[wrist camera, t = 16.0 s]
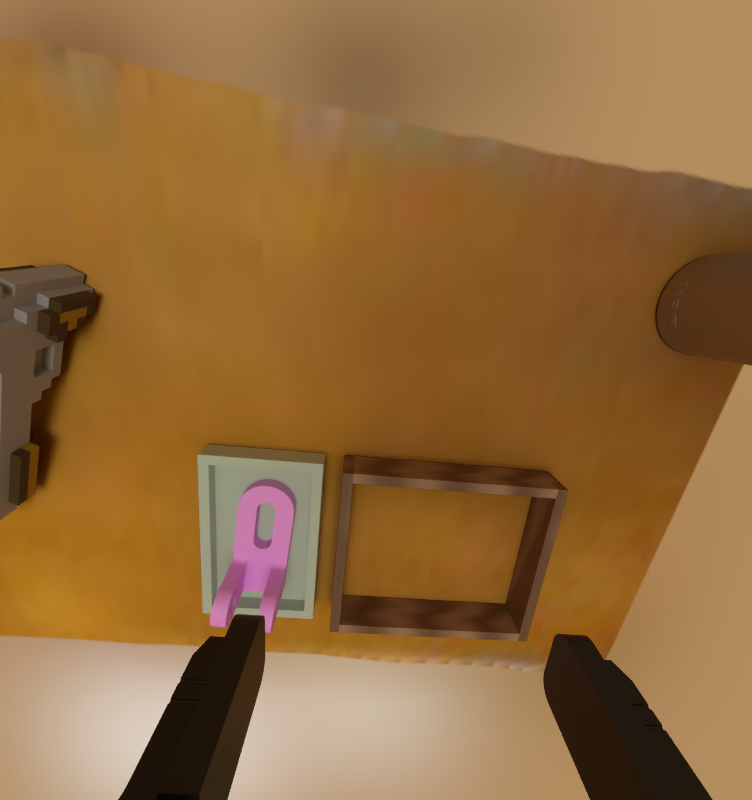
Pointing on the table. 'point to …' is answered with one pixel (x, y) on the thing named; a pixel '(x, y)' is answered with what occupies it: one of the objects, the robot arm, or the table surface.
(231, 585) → the bracket
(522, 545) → the crate
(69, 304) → the toy
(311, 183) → the table surface
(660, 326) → the robot arm
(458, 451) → the table surface
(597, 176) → the table surface
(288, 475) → the tray
